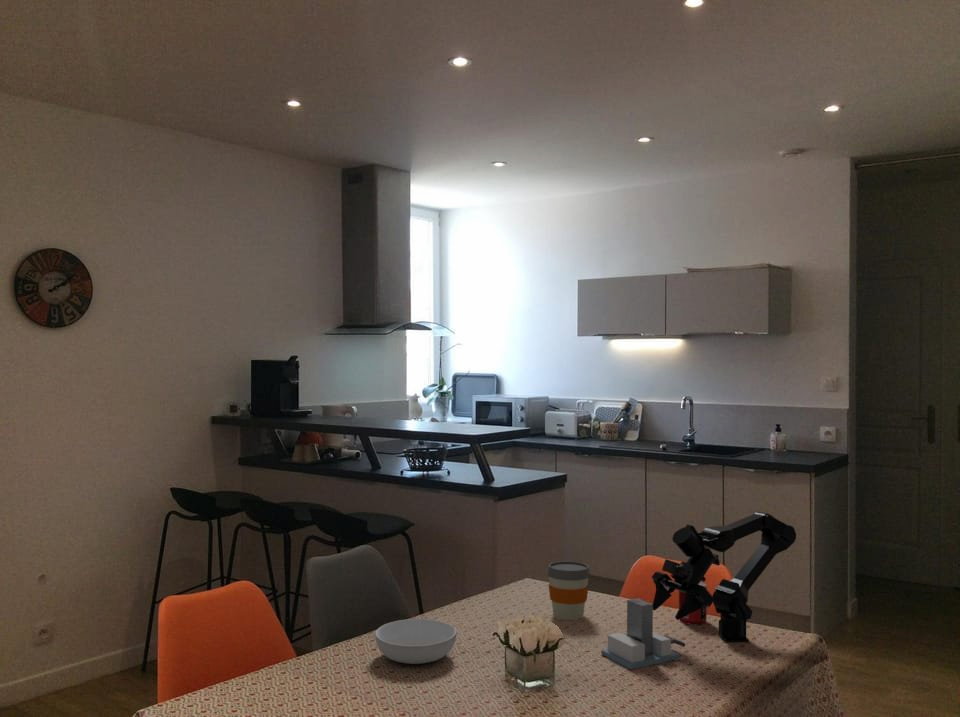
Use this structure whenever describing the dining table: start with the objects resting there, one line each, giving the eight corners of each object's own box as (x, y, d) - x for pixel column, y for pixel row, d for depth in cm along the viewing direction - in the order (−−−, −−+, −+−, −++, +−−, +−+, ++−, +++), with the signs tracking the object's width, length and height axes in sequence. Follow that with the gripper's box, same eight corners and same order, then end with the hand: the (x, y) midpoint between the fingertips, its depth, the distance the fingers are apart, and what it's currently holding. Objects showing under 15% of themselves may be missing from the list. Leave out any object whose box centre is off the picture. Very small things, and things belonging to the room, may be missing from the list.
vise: (661, 642, 224) (661, 623, 224) (691, 656, 214) (691, 636, 214) (601, 654, 215) (601, 634, 215) (630, 669, 204) (630, 648, 204)
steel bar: (637, 647, 217) (637, 598, 217) (652, 654, 211) (652, 604, 212) (626, 649, 215) (627, 599, 215) (641, 657, 210) (642, 605, 210)
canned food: (707, 625, 240) (707, 587, 240) (679, 623, 241) (679, 586, 241) (705, 618, 247) (705, 581, 247) (678, 616, 249) (678, 579, 249)
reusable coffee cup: (548, 608, 255) (548, 560, 255) (589, 610, 254) (589, 561, 254) (546, 621, 243) (546, 570, 243) (589, 623, 241) (589, 571, 241)
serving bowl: (358, 658, 211) (358, 631, 211) (418, 639, 226) (418, 613, 226) (413, 679, 197) (413, 650, 197) (473, 657, 212) (473, 630, 212)
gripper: (657, 541, 228) (625, 586, 223) (705, 555, 212) (671, 604, 206) (678, 567, 232) (647, 611, 227) (727, 582, 215) (695, 631, 210)
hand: (664, 614), depth 217 cm, fingers open, 9 cm apart
